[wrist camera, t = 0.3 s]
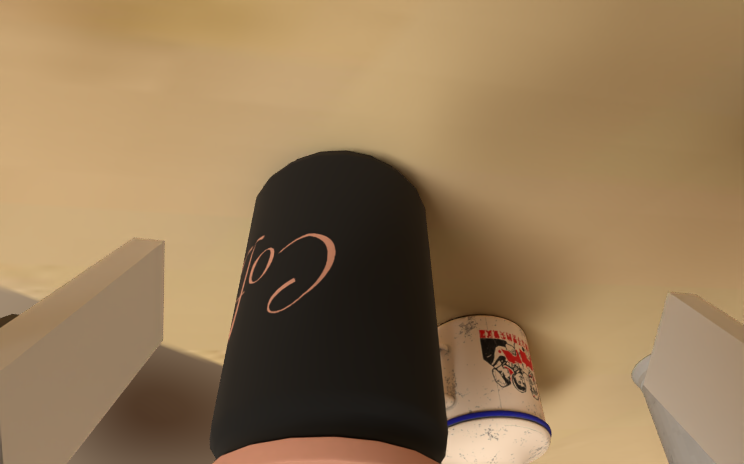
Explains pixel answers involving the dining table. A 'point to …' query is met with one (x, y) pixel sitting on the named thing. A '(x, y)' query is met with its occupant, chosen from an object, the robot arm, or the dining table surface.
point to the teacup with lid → (490, 393)
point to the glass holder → (669, 426)
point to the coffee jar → (334, 324)
